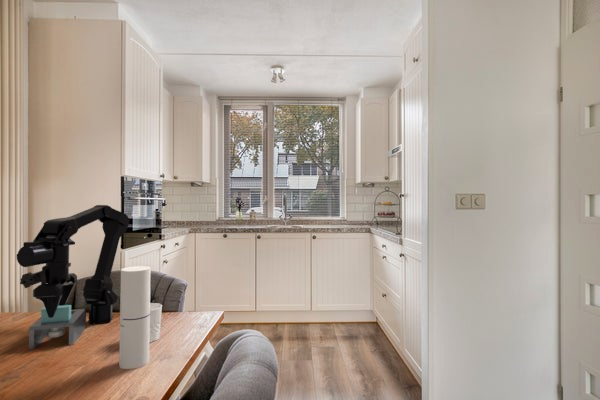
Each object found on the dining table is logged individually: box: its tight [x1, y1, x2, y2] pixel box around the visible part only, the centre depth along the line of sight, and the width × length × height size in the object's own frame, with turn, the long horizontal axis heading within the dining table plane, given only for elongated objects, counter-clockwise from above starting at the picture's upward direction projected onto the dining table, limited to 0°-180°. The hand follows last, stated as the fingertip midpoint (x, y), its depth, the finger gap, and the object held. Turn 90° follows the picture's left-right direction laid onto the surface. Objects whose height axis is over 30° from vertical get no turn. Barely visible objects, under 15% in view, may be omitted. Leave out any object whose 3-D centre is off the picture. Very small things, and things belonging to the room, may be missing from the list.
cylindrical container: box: [118, 265, 152, 370], centre depth 90 cm, size 7×7×25 cm
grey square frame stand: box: [28, 308, 87, 350], centre depth 105 cm, size 14×11×6 cm
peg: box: [40, 304, 72, 339], centre depth 103 cm, size 7×4×8 cm, turn 110°
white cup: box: [149, 302, 163, 343], centre depth 106 cm, size 8×8×10 cm
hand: (56, 312), depth 102 cm, fingers open, 9 cm apart
